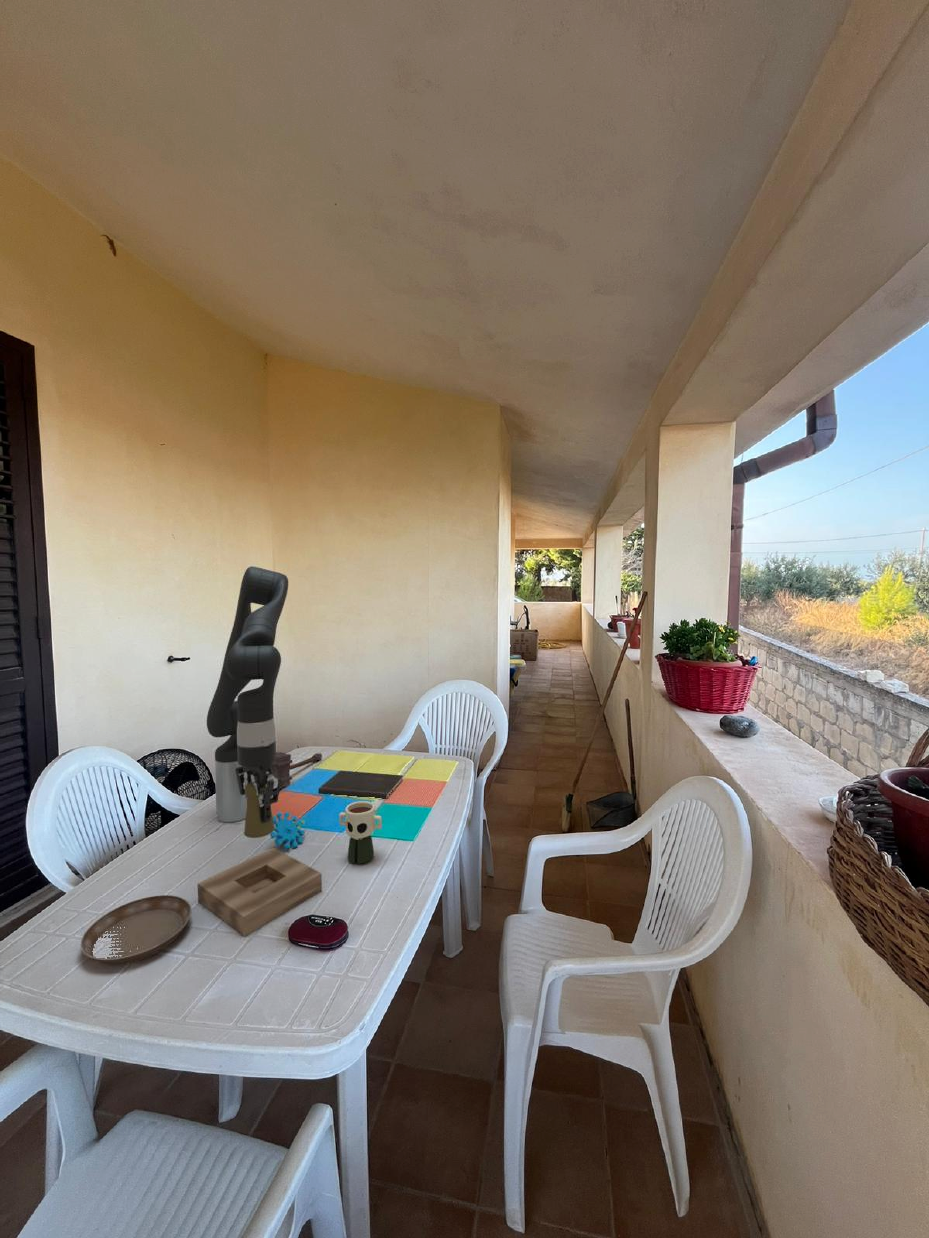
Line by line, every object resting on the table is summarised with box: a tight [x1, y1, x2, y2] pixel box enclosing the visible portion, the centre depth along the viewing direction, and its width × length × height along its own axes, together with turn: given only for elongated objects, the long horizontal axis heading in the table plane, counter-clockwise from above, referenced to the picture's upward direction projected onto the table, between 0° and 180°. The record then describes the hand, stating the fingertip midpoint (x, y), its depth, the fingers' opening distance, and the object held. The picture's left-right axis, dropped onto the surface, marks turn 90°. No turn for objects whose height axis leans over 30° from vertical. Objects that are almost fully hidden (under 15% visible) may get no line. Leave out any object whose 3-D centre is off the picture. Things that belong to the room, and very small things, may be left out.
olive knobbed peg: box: [243, 782, 275, 839], centre depth 108 cm, size 6×6×11 cm
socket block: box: [196, 847, 323, 937], centre depth 110 cm, size 18×18×4 cm
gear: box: [269, 811, 306, 850], centre depth 132 cm, size 11×6×10 cm
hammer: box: [271, 752, 323, 789], centre depth 179 cm, size 7×33×10 cm, turn 166°
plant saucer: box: [80, 894, 192, 966], centre depth 97 cm, size 18×18×3 cm
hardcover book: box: [317, 770, 404, 800], centre depth 168 cm, size 16×23×2 cm
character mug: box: [338, 800, 383, 864], centre depth 124 cm, size 11×7×13 cm, turn 79°
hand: (259, 818), depth 109 cm, fingers closed on olive knobbed peg, 4 cm apart
